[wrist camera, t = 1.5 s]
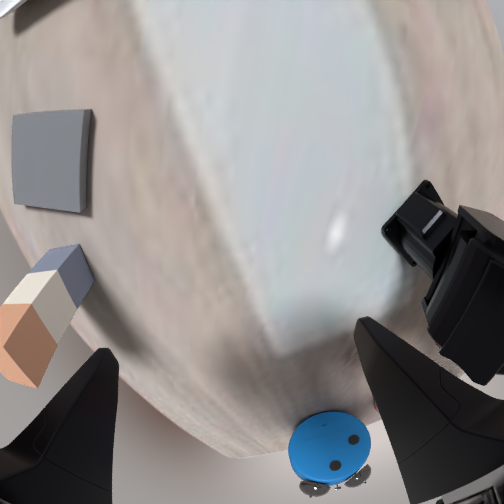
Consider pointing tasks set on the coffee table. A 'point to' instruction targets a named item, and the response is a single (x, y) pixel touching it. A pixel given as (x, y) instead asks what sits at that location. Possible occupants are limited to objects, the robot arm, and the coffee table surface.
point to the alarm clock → (329, 452)
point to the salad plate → (9, 6)
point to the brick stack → (41, 313)
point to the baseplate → (51, 159)
